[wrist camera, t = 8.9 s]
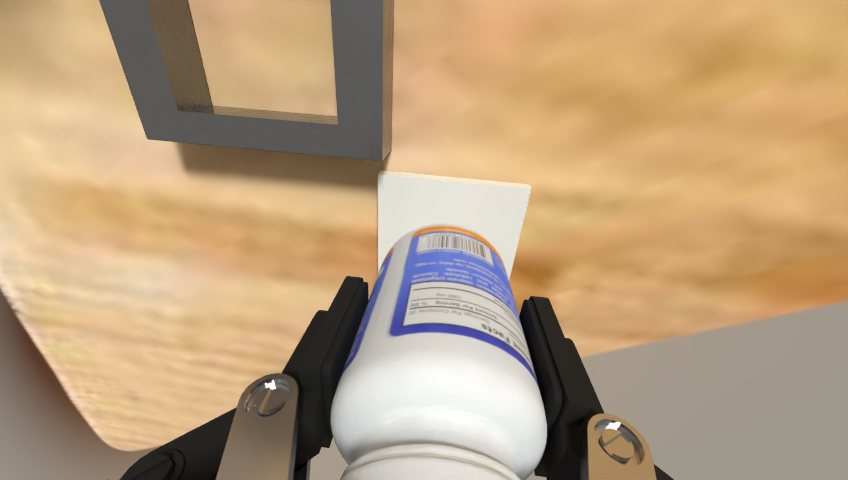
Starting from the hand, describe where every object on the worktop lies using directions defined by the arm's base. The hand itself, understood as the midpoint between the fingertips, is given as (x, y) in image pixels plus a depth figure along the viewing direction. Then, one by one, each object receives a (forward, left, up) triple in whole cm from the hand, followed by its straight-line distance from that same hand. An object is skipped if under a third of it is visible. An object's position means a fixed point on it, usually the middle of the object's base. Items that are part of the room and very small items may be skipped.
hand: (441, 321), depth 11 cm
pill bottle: (0, 0, -3) cm, 3 cm away
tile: (0, 0, -6) cm, 6 cm away
